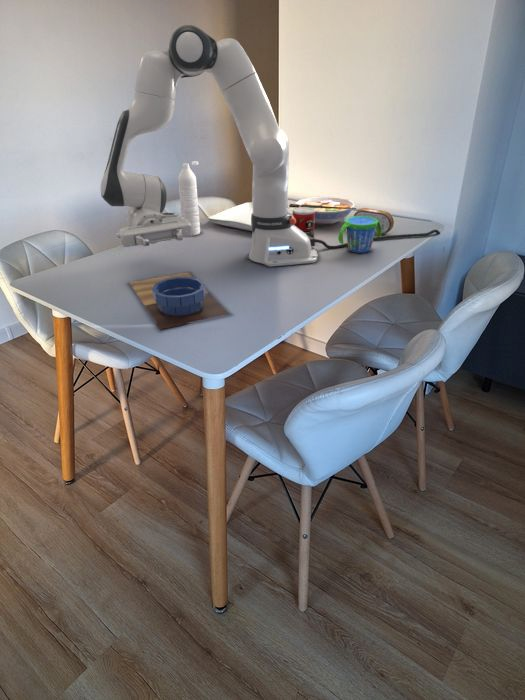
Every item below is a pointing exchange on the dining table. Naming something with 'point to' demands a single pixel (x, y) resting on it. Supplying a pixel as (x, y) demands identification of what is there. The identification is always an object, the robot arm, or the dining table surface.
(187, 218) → the water bottle
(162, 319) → the mat
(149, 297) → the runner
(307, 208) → the canned food
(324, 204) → the ramen bowl
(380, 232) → the snack cup
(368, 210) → the tin
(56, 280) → the dining table surface
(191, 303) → the bowl
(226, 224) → the square plate
